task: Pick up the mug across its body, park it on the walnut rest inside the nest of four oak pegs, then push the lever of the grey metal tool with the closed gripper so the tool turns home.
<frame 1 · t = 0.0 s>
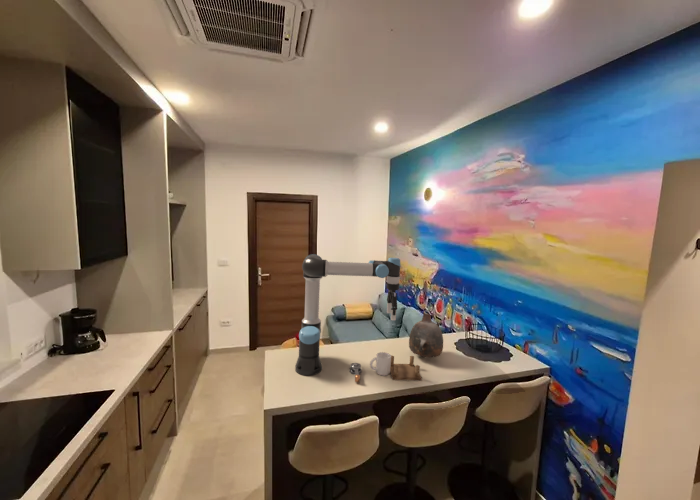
hand: (391, 316, 190), 28 cm above the worktop, fingers open, 13 cm apart
mug: (379, 372, 175), on the worktop
jug: (424, 357, 199), on the worktop
nut washer: (355, 371, 176), on the worktop
peg rest: (403, 372, 176), on the worktop
grey metal tool: (356, 371, 170), point 3 cm above the worktop, hinge at 0.0°
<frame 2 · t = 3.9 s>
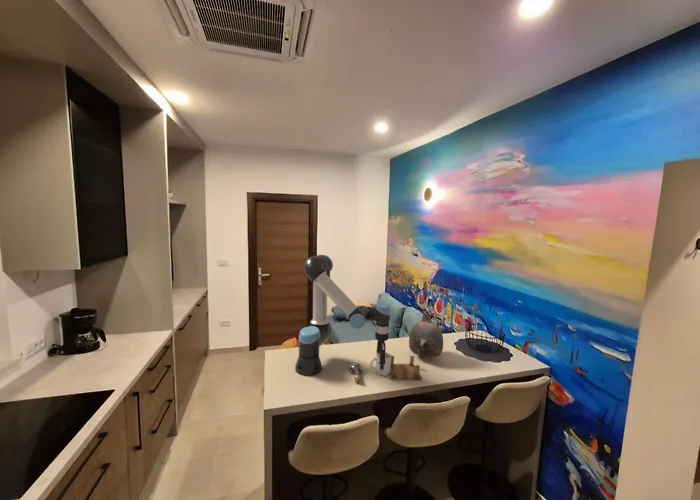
hand: (379, 370, 175), 1 cm above the worktop, fingers closed on mug, 8 cm apart
mug: (379, 372, 175), on the worktop, touching gripper, peg rest
everything else where it was.
when the fingers open (4 cm above the worktop, at t = 9.6 s): mug drops 1 cm, resting on peg rest.
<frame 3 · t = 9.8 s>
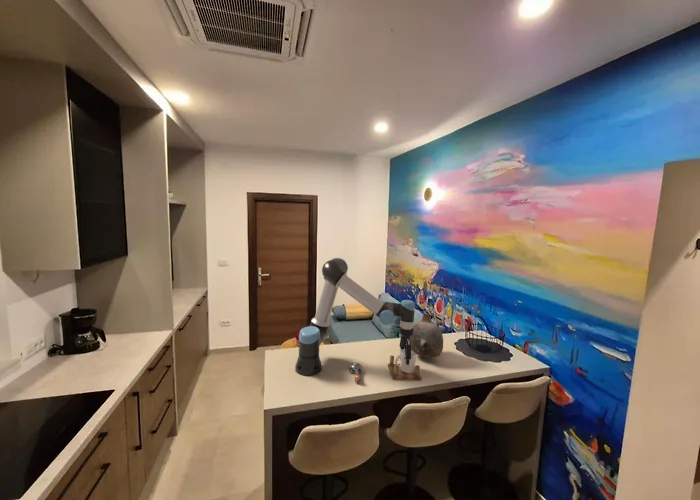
hand: (404, 364, 176), 5 cm above the worktop, fingers open, 10 cm apart
mug: (403, 370, 176), point 2 cm above the worktop, touching peg rest
everything else where it was.
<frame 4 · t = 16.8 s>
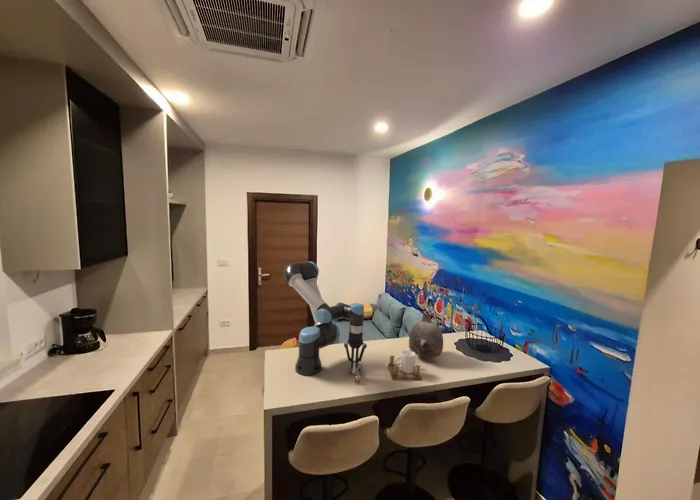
hand: (353, 372, 170), 2 cm above the worktop, fingers closed
grey metal tool: (356, 371, 170), point 3 cm above the worktop, hinge at 0.9°, touching gripper
everything else where it was.
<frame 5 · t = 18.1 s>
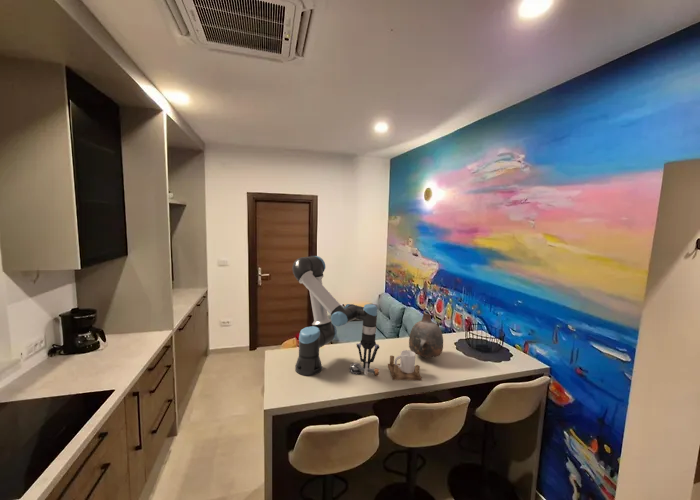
hand: (365, 373, 170), 1 cm above the worktop, fingers closed
grey metal tool: (364, 368, 173), point 3 cm above the worktop, hinge at 64.8°, touching gripper
everything else where it was.
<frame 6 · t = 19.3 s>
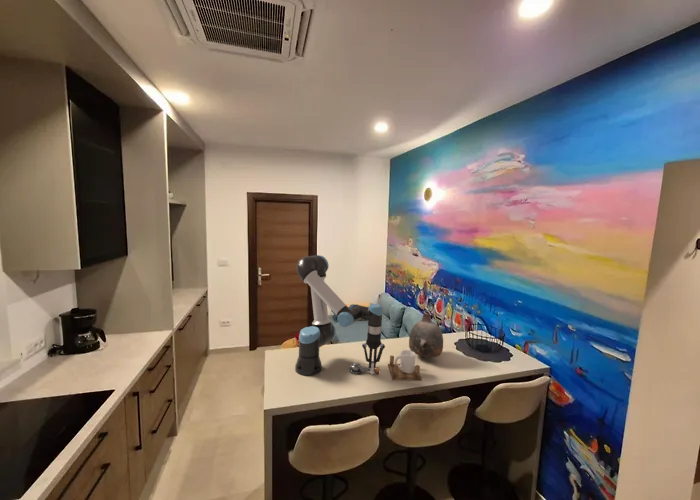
hand: (371, 373, 171), 2 cm above the worktop, fingers closed
grey metal tool: (364, 368, 174), point 3 cm above the worktop, hinge at 73.3°, touching gripper
everything else where it was.
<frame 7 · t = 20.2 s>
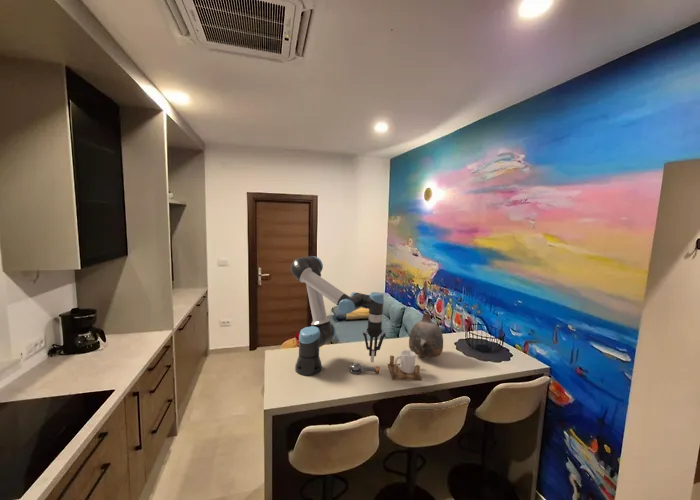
hand: (372, 361, 171), 8 cm above the worktop, fingers closed
grey metal tool: (364, 367, 174), point 3 cm above the worktop, hinge at 76.1°
everything else where it was.
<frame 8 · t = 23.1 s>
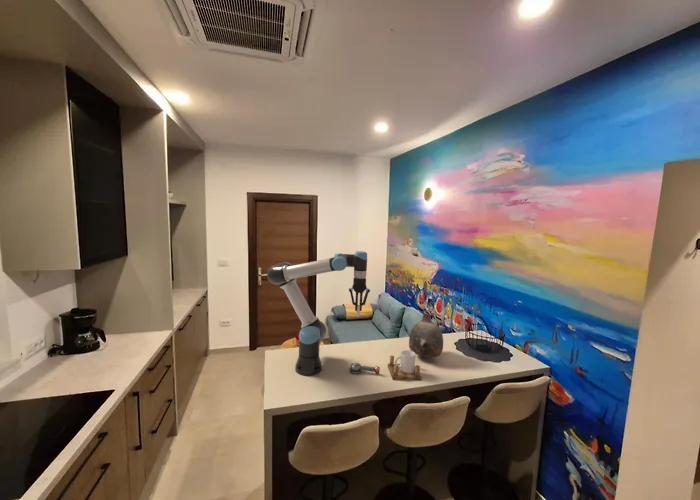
hand: (358, 316, 183), 29 cm above the worktop, fingers closed
nothing on the worktop moved.
at the end: mug inside the target area on the peg rest (0.2 cm from its centre), point 1.3 cm above the peg rest's base; mug tilted 0°; grey metal tool at +76° (first picture: +0°) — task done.
